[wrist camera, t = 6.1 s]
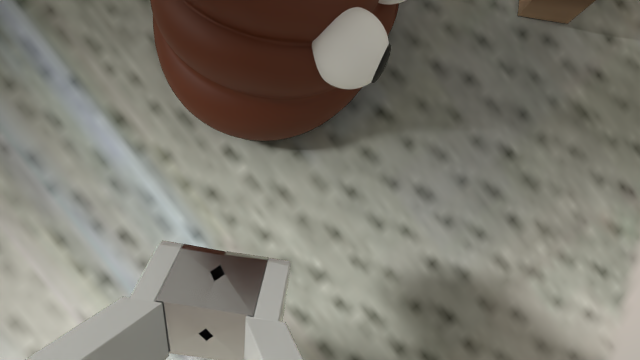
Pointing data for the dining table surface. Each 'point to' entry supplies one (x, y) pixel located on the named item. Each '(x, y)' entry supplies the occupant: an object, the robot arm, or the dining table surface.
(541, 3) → the channel
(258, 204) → the dining table surface
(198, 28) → the poop emoji
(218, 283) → the robot arm
